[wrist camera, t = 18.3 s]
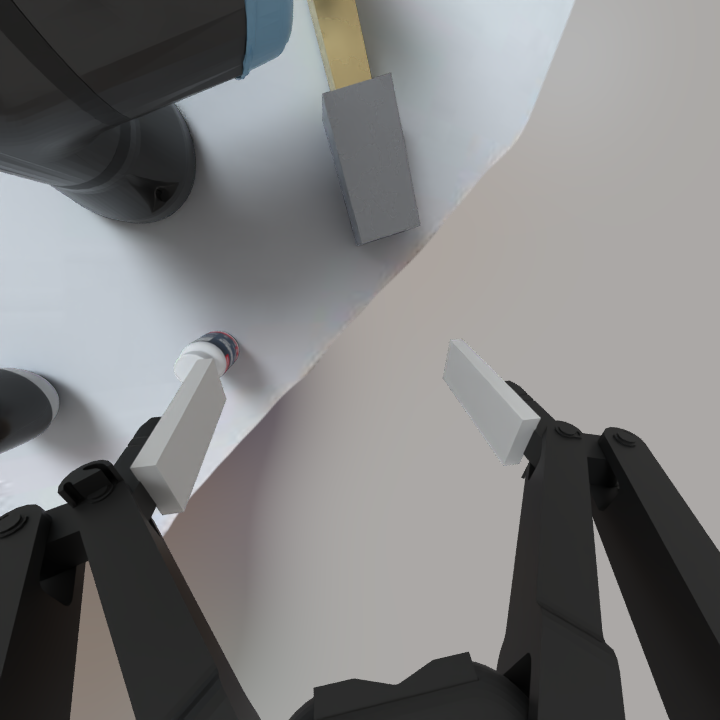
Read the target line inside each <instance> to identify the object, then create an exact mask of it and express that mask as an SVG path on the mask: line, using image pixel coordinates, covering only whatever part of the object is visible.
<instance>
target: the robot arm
mask: <svg viewBox="0 0 720 720" xmlns="http://www.w3.org/2000/svg"><path fill="white" fill-rule="evenodd" d="M292 21H293V0H0V172H4V173H7V174H11V175H15V176H18V177H22V178H26V179H30V180H33V181H37V182H41V183H45V184H49V185H51V186H52V187H54V188H55V189H57V190H58V191H60V192H61V193H63V194H64V195H66V196H67V197H69V198H71V199H72V200H73V201H75V202H76V203H78V204H79V205H81V206H83V207H84V208H86V209H88V210H90V211H92V212H94V213H97V214H99V215H102V216H105V217H108V218H111V219H115V220H121V221H126V222H132V223H149V222H155V221H158V220H161V219H164V218H166V217H168V216H170V215H171V214H173V213H174V212H175V211H176V210H178V209H179V208H180V207H181V205H182V204H183V203H184V202H185V200H186V199H187V197H188V195H189V193H190V191H191V188H192V185H193V182H194V177H195V152H194V146H193V142H192V138H191V135H190V132H189V130H188V127H187V125H186V123H185V121H184V118H183V117H182V115H181V113H180V111H179V110H178V108H177V107H176V105H175V104H174V103H175V102H178V101H180V100H183V99H185V98H187V97H190V96H192V95H195V94H197V93H199V92H202V91H204V90H207V89H209V88H212V87H214V86H216V85H219V84H221V83H224V82H226V81H228V80H231V79H233V78H235V79H236V80H241V79H244V78H245V76H247V75H248V74H249V72H250V70H252V69H254V68H256V67H258V66H260V65H263V64H265V63H267V62H269V61H271V60H273V59H275V58H276V57H278V56H279V55H280V54H281V53H282V51H283V50H284V48H285V45H286V43H287V42H288V41H289V38H290V34H291V29H292ZM443 379H444V380H445V382H446V383H447V385H448V386H449V387H450V389H451V391H452V392H453V393H454V395H455V396H456V398H457V399H458V401H459V402H460V403H461V405H462V407H463V408H464V409H465V411H466V412H467V414H468V415H469V417H470V418H471V420H472V421H473V422H474V424H475V425H476V427H477V428H478V430H479V431H480V433H481V434H482V435H483V437H484V439H485V440H486V441H487V443H488V444H489V446H490V447H491V449H492V450H493V452H494V453H495V455H496V456H497V457H498V459H499V460H500V462H501V463H502V465H503V466H507V465H514V464H519V463H520V461H521V459H522V457H523V455H525V456H526V458H527V459H528V460H529V463H528V466H527V467H526V469H525V471H524V473H523V475H522V478H525V485H524V493H523V501H522V509H521V516H520V524H519V532H518V540H517V548H516V556H515V564H514V572H513V580H512V588H511V596H510V604H509V611H508V619H507V627H506V634H505V638H504V642H503V645H502V648H501V650H500V655H499V659H498V664H497V670H493V669H492V668H490V667H487V666H486V665H483V664H480V663H477V662H472V660H471V657H470V654H469V652H465V653H461V654H457V655H452V656H448V657H444V658H440V659H435V660H432V661H431V662H430V663H428V664H427V665H425V666H424V667H422V668H421V669H419V670H418V671H417V672H415V673H414V674H412V675H411V676H410V677H408V678H407V679H405V680H404V681H402V682H401V683H399V684H397V685H391V684H385V683H379V682H372V681H366V680H360V679H350V680H345V681H341V682H337V683H333V684H328V685H324V686H319V687H315V688H314V697H313V698H312V699H310V700H309V701H307V702H306V703H305V704H304V705H303V706H302V707H300V708H299V709H298V710H297V711H296V712H295V713H294V714H293V715H292V717H291V718H290V719H289V720H625V713H624V704H623V696H622V686H621V678H620V670H619V665H618V660H617V657H616V655H615V653H614V651H613V649H612V648H611V647H609V646H608V645H607V644H606V643H605V640H604V638H603V632H602V623H601V611H600V599H599V588H598V577H597V565H596V554H595V543H594V531H593V520H592V517H593V519H594V522H595V524H596V527H597V530H598V532H599V535H600V538H601V540H602V543H603V546H604V548H605V551H606V554H607V556H608V558H609V561H610V564H611V567H612V569H613V572H614V575H615V577H616V580H617V583H618V585H619V588H620V590H621V593H622V596H623V598H624V601H625V604H626V606H627V609H628V612H629V614H630V617H631V620H632V622H633V625H634V627H635V630H636V633H637V635H638V638H639V641H640V643H641V646H642V649H643V651H644V654H645V656H646V659H647V662H648V664H649V667H650V669H651V672H652V675H653V678H654V680H655V683H656V685H657V688H658V691H659V693H660V696H661V699H662V701H663V704H664V707H665V709H666V712H667V714H668V717H669V719H670V720H720V552H719V551H718V549H717V548H716V546H715V545H714V543H713V542H712V540H711V539H710V538H709V536H708V535H707V533H706V532H705V530H704V529H703V527H702V526H701V524H700V523H699V521H698V520H697V518H696V517H695V516H694V514H693V513H692V511H691V510H690V508H689V507H688V505H687V504H686V502H685V501H684V499H683V498H682V497H681V495H680V494H679V493H678V491H677V489H676V488H675V486H674V485H673V483H672V482H671V481H670V479H669V478H668V476H667V475H666V473H665V472H664V470H663V469H662V467H661V466H660V464H659V463H658V462H657V460H656V459H655V457H654V456H653V454H652V453H651V451H650V450H649V449H648V447H647V446H646V444H645V443H644V442H643V441H642V440H641V439H640V438H639V437H637V436H636V435H635V434H633V433H631V432H629V431H626V430H624V429H620V428H615V427H609V428H606V429H605V431H604V432H603V434H602V435H601V436H599V435H592V434H585V433H582V432H581V431H580V430H579V429H578V428H576V427H575V426H573V425H571V424H569V423H566V422H563V421H555V420H554V419H553V418H552V417H551V416H550V415H549V414H548V413H547V412H546V411H545V410H544V409H543V408H542V407H541V406H540V405H539V404H538V403H537V402H536V401H533V399H532V398H531V397H530V396H529V395H527V393H526V392H525V391H524V390H523V389H522V388H521V387H520V386H518V385H517V384H515V383H513V382H511V381H504V380H503V379H502V378H501V377H500V376H499V375H498V374H497V373H496V372H495V371H494V370H493V369H492V368H491V367H490V366H489V365H488V364H487V363H486V362H485V361H484V360H483V359H482V358H481V357H480V356H479V355H478V354H477V353H476V352H475V351H474V350H473V349H472V348H471V347H470V346H469V345H468V344H467V343H466V342H465V341H464V340H463V339H454V340H450V344H449V349H448V354H447V360H446V364H445V369H444V375H443ZM225 401H226V396H225V393H224V390H223V387H222V384H221V381H220V378H219V375H218V372H217V369H216V366H215V363H214V360H213V358H211V359H198V360H197V361H196V363H195V364H194V366H193V367H192V369H191V371H190V372H189V374H188V376H187V377H186V379H185V380H184V382H183V384H182V385H181V387H180V388H179V390H178V392H177V393H176V395H175V396H174V398H173V400H172V401H171V403H170V404H169V406H168V408H167V409H166V411H165V412H164V414H163V416H162V417H154V418H151V419H149V420H148V421H147V422H146V423H145V424H143V425H142V426H141V427H140V428H139V430H138V431H137V433H136V434H135V435H134V438H133V439H132V440H131V441H130V443H129V444H128V447H126V449H125V450H124V452H123V453H122V454H121V456H120V457H119V459H118V460H117V462H116V463H115V465H114V466H113V464H112V463H110V462H109V461H106V460H98V461H93V462H90V463H88V464H85V465H83V466H81V467H79V468H77V469H76V470H74V471H72V472H71V473H70V474H69V475H68V476H67V477H65V478H64V479H63V481H62V482H61V484H60V485H59V487H58V494H59V495H60V496H61V497H62V498H63V499H64V500H65V501H66V502H67V504H64V505H61V506H58V507H56V508H53V509H50V510H47V511H44V510H43V509H42V508H41V507H40V506H38V505H36V504H35V505H25V506H22V507H18V508H16V509H14V510H12V511H10V512H8V513H6V514H4V515H3V516H1V517H0V720H70V712H71V702H72V692H73V682H74V672H75V662H76V652H77V642H78V632H79V623H80V613H81V603H82V593H83V583H84V572H85V563H86V561H89V563H90V567H91V570H92V573H93V577H94V580H95V584H96V587H97V590H98V594H99V597H100V600H101V604H102V607H103V611H104V614H105V617H106V620H107V624H108V627H109V630H110V634H111V637H112V641H113V644H114V647H115V651H116V654H117V657H118V660H119V664H120V667H121V671H122V674H123V678H124V681H125V684H126V688H127V691H128V694H129V698H130V701H131V704H132V708H133V711H134V714H135V717H136V720H261V719H260V717H259V716H258V714H257V712H256V711H255V709H254V707H253V706H252V704H251V703H250V701H249V700H248V698H247V696H246V695H245V693H244V691H243V689H242V687H241V685H240V683H239V682H238V680H237V678H236V676H235V674H234V672H233V670H232V668H231V667H230V664H229V663H228V661H227V659H226V657H225V655H224V653H223V651H222V649H221V647H220V645H219V644H218V642H217V640H216V638H215V636H214V634H213V632H212V631H211V628H210V626H209V625H208V623H207V621H206V619H205V617H204V615H203V613H202V612H201V609H200V607H199V606H198V604H197V602H196V600H195V598H194V596H193V594H192V592H191V591H190V588H189V587H188V585H187V583H186V581H185V579H184V577H183V575H182V573H181V572H180V569H179V568H178V566H177V564H176V562H175V560H174V558H173V556H172V554H171V552H170V550H169V549H168V547H167V545H166V543H165V541H164V539H163V537H162V535H161V533H160V531H159V530H158V528H157V526H156V524H155V522H154V520H153V519H152V518H151V516H152V514H153V512H154V510H155V508H156V507H157V508H158V510H159V511H160V513H161V514H162V515H166V514H173V513H180V512H184V511H185V508H186V505H187V503H188V500H189V497H190V495H191V492H192V489H193V487H194V484H195V481H196V479H197V476H198V473H199V471H200V468H201V465H202V463H203V460H204V457H205V455H206V452H207V449H208V447H209V444H210V441H211V439H212V436H213V433H214V431H215V428H216V425H217V423H218V420H219V417H220V415H221V412H222V409H223V407H224V404H225ZM525 476H526V477H525Z"/></svg>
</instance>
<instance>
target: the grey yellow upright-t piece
mask: <svg viewBox="0 0 720 720" xmlns="http://www.w3.org/2000/svg"><path fill="white" fill-rule="evenodd" d="M307 2H308V6H309V10H310V13H311V17H312V21H313V25H314V29H315V33H316V37H317V41H318V45H319V48H320V52H321V56H322V60H323V64H324V68H325V72H326V76H327V79H328V83H329V87H330V91H333V90H336V89H339V88H343V87H346V86H349V85H353V84H356V83H359V82H362V81H366V80H369V79H372V78H371V73H370V68H369V64H368V59H367V54H366V50H365V45H364V40H363V36H362V31H361V26H360V21H359V17H358V12H357V7H356V3H355V0H307Z"/></svg>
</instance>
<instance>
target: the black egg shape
mask: <svg viewBox="0 0 720 720" xmlns="http://www.w3.org/2000/svg"><path fill="white" fill-rule="evenodd" d="M58 409H59V397H58V394H57V392H56V390H55V388H54V387H53V386H52V385H51V384H50V383H49V382H48V381H47V380H46V379H44V378H43V377H41V376H39V375H37V374H35V373H32V372H30V371H26V370H22V369H16V368H0V454H1V453H4V452H6V451H8V450H11V449H13V448H15V447H17V446H20V445H22V444H24V443H26V442H28V441H30V440H32V439H34V438H36V437H37V436H39V435H40V434H42V433H43V432H44V431H46V429H47V428H48V427H49V425H50V424H51V422H52V421H53V419H54V418H55V416H56V415H57V412H58Z"/></svg>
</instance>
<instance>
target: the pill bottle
mask: <svg viewBox="0 0 720 720" xmlns="http://www.w3.org/2000/svg"><path fill="white" fill-rule="evenodd" d="M238 355H239V347H238V344H237V342H236V340H235V339H234V338H233V337H232V336H231V335H229V334H228V333H225V332H222V331H212V332H209V333H207V334H205V335H204V336H202V337H200V338H199V339H197V340H195V341H194V342H192V343H191V344H189V345H188V346H186V347H185V348H184V349H183V351H182V352H181V355H180V357H179V358H178V359H177V360H176V362H175V364H174V373H175V375H176V377H177V378H178V380H179V381H181V382H182V383H183V382H184V380H185V379H186V377H187V376H188V374H189V372H190V371H191V369H192V367H193V366H194V364H195V363H196V361H197V360H198V359H211V358H213V360H214V363H215V366H216V369H217V372H218V375H219V378H220V377H221V376H222V375H223V374H224V373H225V372H226V371H227V370H228V369H229V368H230V366H231V365H232V364H233V363H234V362H235V361H236V359H237V358H238Z"/></svg>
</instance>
